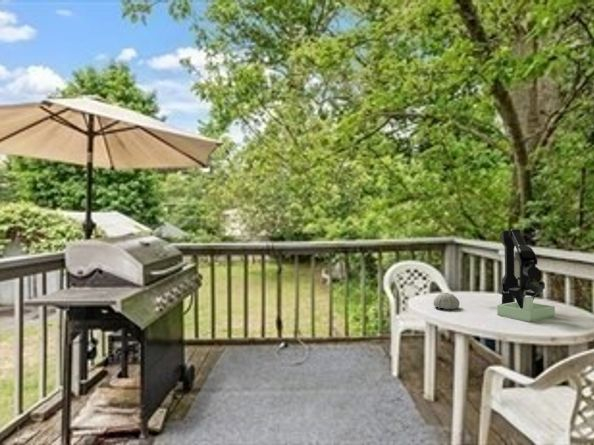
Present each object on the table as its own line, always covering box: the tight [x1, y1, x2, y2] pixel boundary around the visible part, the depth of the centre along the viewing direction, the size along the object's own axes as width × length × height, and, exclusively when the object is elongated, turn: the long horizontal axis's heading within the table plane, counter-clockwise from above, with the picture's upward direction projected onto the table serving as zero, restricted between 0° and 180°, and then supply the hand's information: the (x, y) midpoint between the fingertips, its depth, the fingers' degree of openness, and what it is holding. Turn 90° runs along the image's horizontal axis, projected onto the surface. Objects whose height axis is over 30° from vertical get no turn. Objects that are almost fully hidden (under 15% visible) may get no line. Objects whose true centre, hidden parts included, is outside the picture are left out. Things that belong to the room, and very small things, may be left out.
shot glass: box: [519, 294, 534, 311], centre depth 278 cm, size 7×7×7 cm
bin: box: [496, 301, 556, 323], centre depth 278 cm, size 18×18×5 cm
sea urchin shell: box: [433, 292, 461, 310], centre depth 300 cm, size 13×14×8 cm
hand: (525, 307), depth 278 cm, fingers closed on shot glass, 6 cm apart
